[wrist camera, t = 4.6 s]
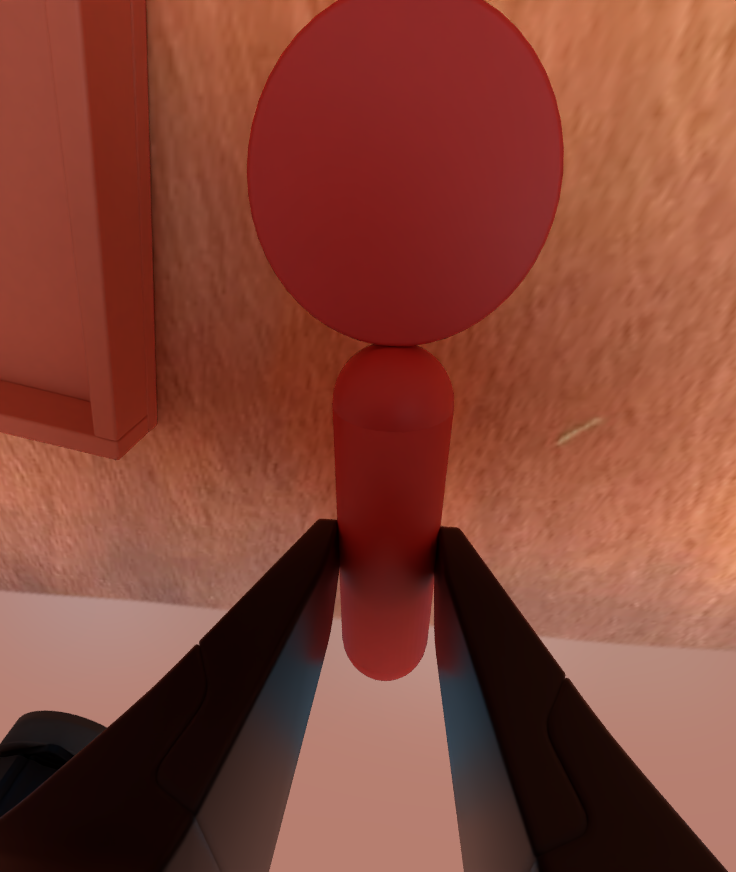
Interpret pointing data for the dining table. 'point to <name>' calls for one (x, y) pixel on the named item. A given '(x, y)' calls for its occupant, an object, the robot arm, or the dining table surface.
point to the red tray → (76, 225)
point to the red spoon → (401, 257)
